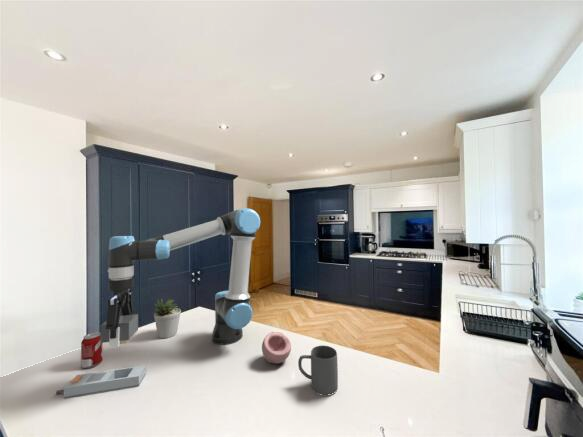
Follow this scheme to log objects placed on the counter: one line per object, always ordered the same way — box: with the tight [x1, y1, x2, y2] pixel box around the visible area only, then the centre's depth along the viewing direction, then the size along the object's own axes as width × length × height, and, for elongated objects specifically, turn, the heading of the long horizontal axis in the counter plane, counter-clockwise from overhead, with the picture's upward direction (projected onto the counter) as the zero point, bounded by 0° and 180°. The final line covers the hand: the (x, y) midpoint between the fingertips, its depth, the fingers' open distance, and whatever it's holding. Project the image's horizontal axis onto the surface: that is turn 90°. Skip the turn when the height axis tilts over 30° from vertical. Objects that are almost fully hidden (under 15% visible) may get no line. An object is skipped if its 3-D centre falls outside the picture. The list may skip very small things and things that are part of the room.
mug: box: [297, 345, 339, 396], centre depth 82 cm, size 14×9×12 cm
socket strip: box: [55, 364, 147, 399], centre depth 84 cm, size 26×7×4 cm, turn 105°
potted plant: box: [149, 298, 182, 339], centre depth 124 cm, size 13×14×20 cm
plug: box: [99, 313, 139, 345], centre depth 86 cm, size 9×8×8 cm
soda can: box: [80, 331, 104, 369], centre depth 98 cm, size 7×7×12 cm
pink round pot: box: [261, 331, 292, 365], centre depth 98 cm, size 12×12×11 cm
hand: (120, 340), depth 86 cm, fingers closed on plug, 8 cm apart
